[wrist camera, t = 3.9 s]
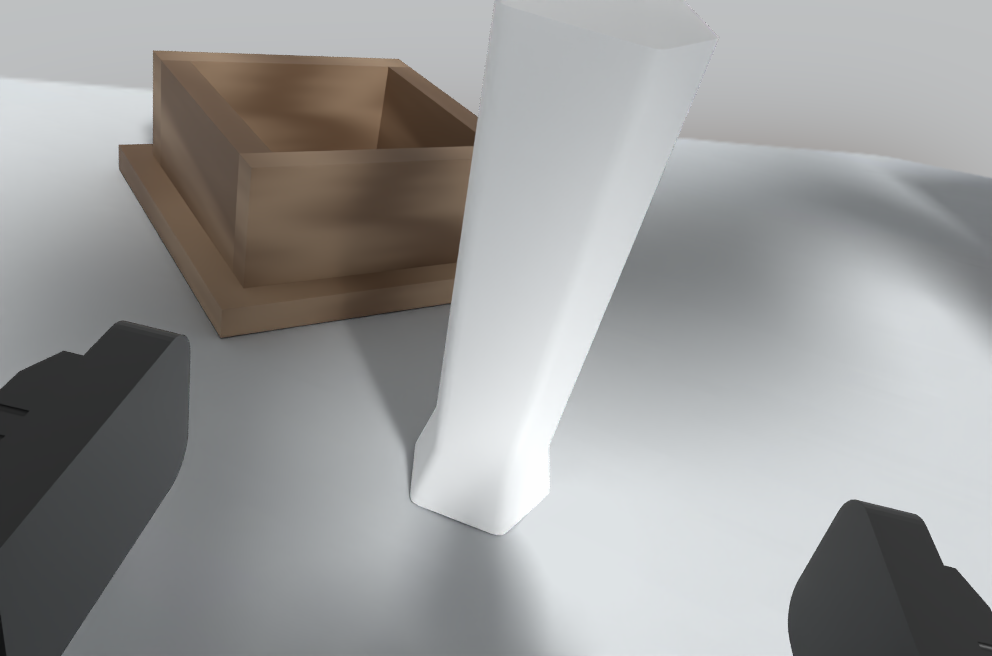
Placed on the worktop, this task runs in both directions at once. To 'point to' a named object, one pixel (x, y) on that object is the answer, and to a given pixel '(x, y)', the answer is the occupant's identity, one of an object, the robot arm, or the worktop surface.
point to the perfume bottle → (548, 232)
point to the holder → (303, 185)
